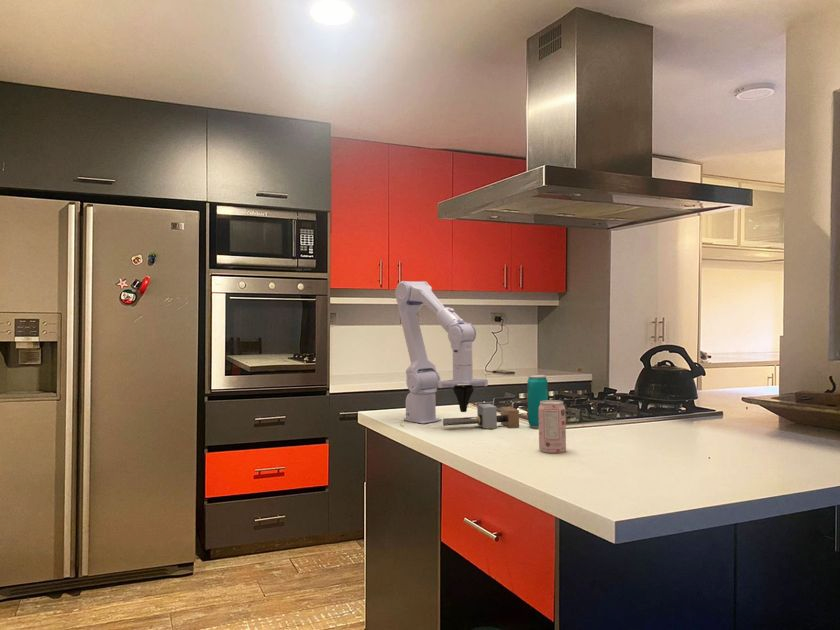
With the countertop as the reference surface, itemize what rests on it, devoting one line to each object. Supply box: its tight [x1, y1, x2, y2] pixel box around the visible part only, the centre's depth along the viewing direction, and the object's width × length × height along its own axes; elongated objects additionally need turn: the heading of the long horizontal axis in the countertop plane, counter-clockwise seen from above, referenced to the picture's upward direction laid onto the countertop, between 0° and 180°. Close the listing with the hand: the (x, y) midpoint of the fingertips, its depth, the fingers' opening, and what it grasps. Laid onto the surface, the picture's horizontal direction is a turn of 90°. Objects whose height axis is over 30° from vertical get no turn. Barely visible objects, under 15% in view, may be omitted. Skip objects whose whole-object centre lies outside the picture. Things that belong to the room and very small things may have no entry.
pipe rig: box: [442, 406, 520, 431], centre depth 188 cm, size 22×9×5 cm, turn 101°
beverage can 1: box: [526, 374, 549, 430], centre depth 186 cm, size 6×6×15 cm
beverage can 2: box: [538, 399, 567, 454], centre depth 157 cm, size 6×6×12 cm
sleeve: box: [476, 403, 498, 429], centre depth 188 cm, size 4×6×6 cm, turn 11°
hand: (463, 411), depth 187 cm, fingers closed
